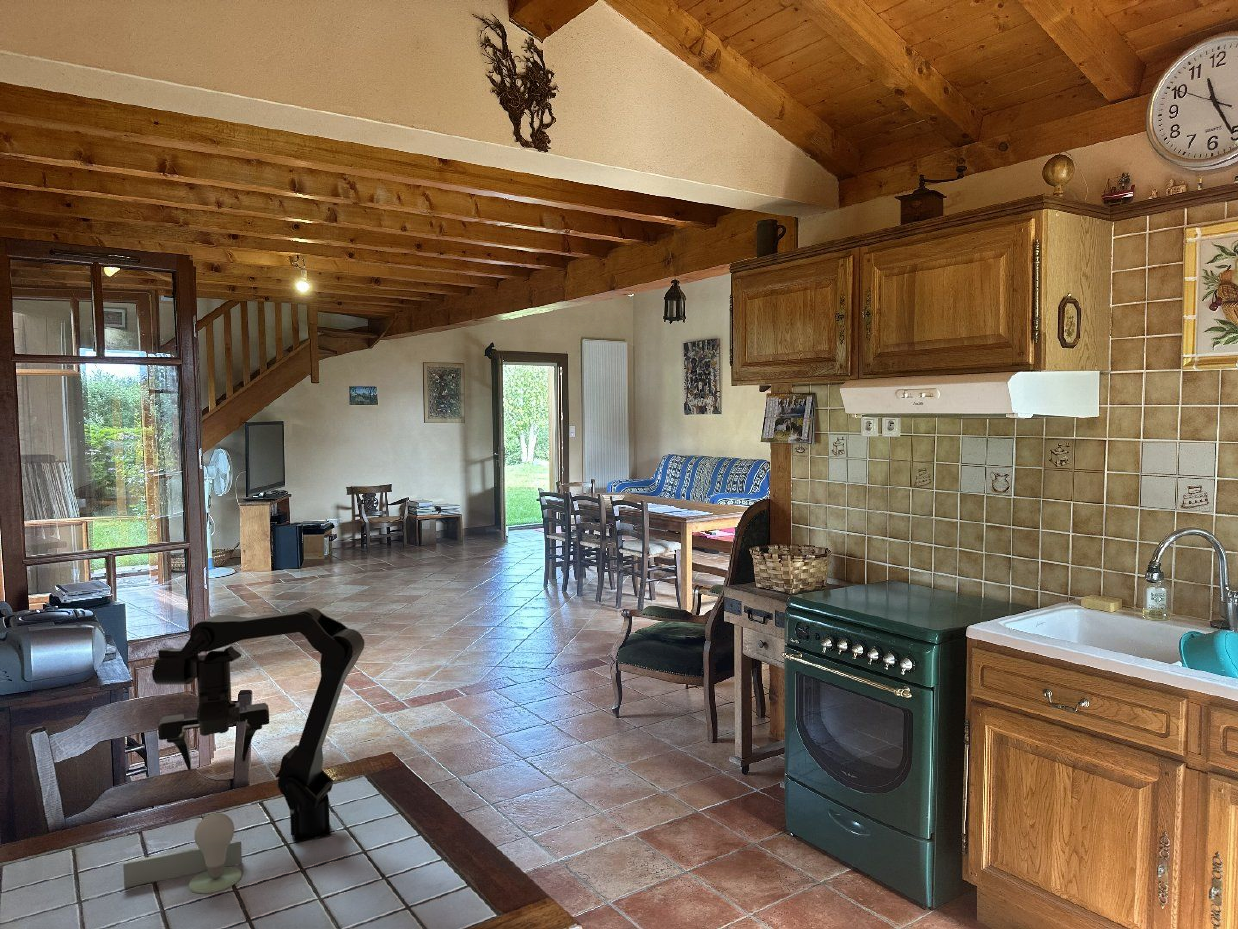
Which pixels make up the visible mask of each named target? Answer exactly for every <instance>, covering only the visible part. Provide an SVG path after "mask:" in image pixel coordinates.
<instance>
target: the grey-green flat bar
mask: <svg viewBox="0 0 1238 929" xmlns="http://www.w3.org/2000/svg"><path fill="white" fill-rule="evenodd" d="M242 864H243V852H242V839H237V840H231V842H230V844H229V846H228V848H227V852H226V861H225V863H224V867H233V866H239V865H242ZM122 866H123V868H122V869H123V887H124V888H125V889H126V888H128V887H129V888H130V887H134V886H138V885H143V884H148V883H154V882H158V881H162V880H163V881H164V880H168V879H174V878H179V877H183V876H188V875H194V874H200V873H203V872H205V871H207V866H206V865H205V858H204V855H203V853H202V851H201V850H200V849H199V847H196V848H195V847H194V848H189V849H186V850H178V851H174V852H169V853H164V854H159V855H158V854H157V855H152V856H148V857H142V858H137V859H133V860H132V859H131V860H127V861H124V862H123V865H122Z"/></svg>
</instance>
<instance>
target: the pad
mask: <svg viewBox="0 0 1238 929" xmlns="http://www.w3.org/2000/svg"><path fill="white" fill-rule="evenodd" d="M241 878H242V870H241V869H239V868H238V867H233V866H229V867H224V874H223V875H222V876H220V877H219V878H218V879H212V878H209V877H208V873H207V871H204V872H199V873H198V874H197V875H195V876H194V877H193V878H192V879H191V880H189V883H188V889H189V891H191V892H193V893H196V894H211V893H215V892H220V891H224V890H226V889H228V888H230V887H232V886H234V885H235V884H237V883H238V882H239V881H240V880H241Z"/></svg>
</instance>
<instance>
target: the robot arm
mask: <svg viewBox="0 0 1238 929" xmlns="http://www.w3.org/2000/svg"><path fill="white" fill-rule="evenodd" d="M296 633H297V634H298V633H300V634H301V635H303V636H304V637H305V639H306V640H307V642H308V643H309V644H310V645H311V647H312V648H313V649H315V651H317V652H318V653H320V654H321V655H320V663H319V666H320V679H319V682H318V685H317V689H316V691H315V694H314V697H313V700H312V703H311V707H310V710H309V713H308V715H307V718H306V721H305V723H304V727H303V730H302V733H301V736H300V739H299V742H298V744H295V745H294V746H293V747H292V748H291V749H289V751H287V752H286V753H285V754H284V755H283V756H282V757H281V761H280V767H279V771H278V772H277V773H276V774H275V778H277V783H276V785H277V789H279V792H280V793H281V795H283V797H284V799H285V801H286V804H287V807H288V810H289V818H290V819H289V821H290V822H289V824H290V836H293V842H294V843H299V842H304V841H309V840H315V839H319V838H320V839H321V838H325V837H328V836H332V829H331V824H330V818H331V817H330V799H329V793H330V792H331V791H332V789H333V786H334V783H335V781H334V779H333V778H332V777H331V776H330V775H328V774H327V773H326V772H325V771H324V769H323V768H322V767H323V763H324V755H323V754H324V753H323V746H324V742H325V740H326V737H327V735H328V731H329V728H330V725H331V722H332V719H333V716H334V713H335V710H336V708H337V704H338V701H339V698H340V696H341V693H342V689H343V687H344V684H345V682H346V679H347V678H348V676H349V674H350V672H351V671H352V669H353V668H354V667H355V665H356V663H357V662H358V660H359V658H360V656H361V654H362V653H363V651H364V649H365V643H366V642H365V639H364V638H363V636H362V635H363V634H361V633H360V632H359V631H358V630H356V629H353V628H349V627H347V626H346V625H344V624H343V623H342V622H341V621H338V620H337V619H333V618H331V617H329V616H327V615H325V614H324V613H323V612H321V611H320V610H319V609H317V608H315V607H308V608H305V609H300V610H294V611H287V612H286V611H284V612H279V613H271V614H264V615H257V616H249V617H247V616H239V615H231V614H230V615H228V614H217V615H213V616H211V617H209V618H206V619H204V620H202V621H198V622H197V623H194V625H193V627H192V628H191V630H190V633H189V639H188V641H186V643H185V644H184V646H183V647H182V648H174V647H163V648H161V649H159V650H158V656H157V658H156V660H155V662H154V664H153V669H152V670H151V675H152V676H151V677H152V680H153V681H154V684H156V685H158V686H167V685H169V686H172V685H173V686H175V685H176V686H178V685H179V686H180V685H181V686H183V685H184V686H185V685H186V686H187V685H191V684H193V683H192V682H194V680H195V679H196V684H197V685H196V688H197V690H196V691H197V692H196V693H197V708H196V717H191V718H185V715H184V713H180V714H172V715H165V716H163V717H162V718H161V719H160V720H159V723H158V728H157V736H158V737H157V738H158V740H160V741H163V740H166V743H168V744H174V746H176V747H177V749H178V751H179V753H180V754H181V756H182V758H183V762H184V763H185V766H186V768H187V770H188V771H192V758H191V757H192V756H191V752H190V746H189V744H190V743H189V739H188V733H187V730H192V729H199V735H200V736H209V735H214V734H225V733H228V731H229V729H230V725H233V724H234V725H235V723H241V722H244V730H243V731H244V732H243V739H242V740H243V741H242V749H241V753H242V754H241V757H242V758H241V760H242V762H243V763H244V762H245V761H246V759H247V756H248V755H247V754H248V752H249V748H250V745H251V742H252V740H253V737H254V735H255V733H256V732H257V731H259V730H262V729H263V726H266V725H268V724H270V710H269V704H267V703H266V702H260V703H252V704H246V710H241V711H240V702H232V688H231V687H232V681H231V679H232V678H231V663H232V662H235V661H236V660H238V659H239V658H241V657H242V654H241V653H240V651H238V650H236V649H235V648H234V647H233V646H232V644H235V643H238V642H240V641H245V640H246V641H247V640H252V639H259V638H268V637H274V636H280V635H288V634H289V635H290V634H296ZM229 645H231V646H229ZM226 646H228V647H227V648H225V649H224V650H217V649H221V648H223V647H226ZM203 652H204V653H207V654H206V655H205V654H203V655H202V653H203Z"/></svg>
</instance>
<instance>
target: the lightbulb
mask: <svg viewBox="0 0 1238 929" xmlns="http://www.w3.org/2000/svg"><path fill="white" fill-rule="evenodd" d="M234 824H235V823H234V822H233V819H232V818H231V817H230V816H229V815H227V814H226V813H225V814H224V813H222V812H214V813H211V814H208V815H206V816H205V817H203V818H202V819H200V821H199V822H198V824H197V825H196V828H195V831H194V835H193V836H194V842H195V845H196V846H197V848H199V849H200V850H201V851H202V853H203V855H204V858H205V865H206V866H207V873H208V877H209V878H212V879H218V878H219V877H220V876H222V875H223V874H224V863H225V861H226V852H227V848H228V846H229V844H230V842H231V841H233V840H232V839H233V837H234V834H235V825H234Z"/></svg>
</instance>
